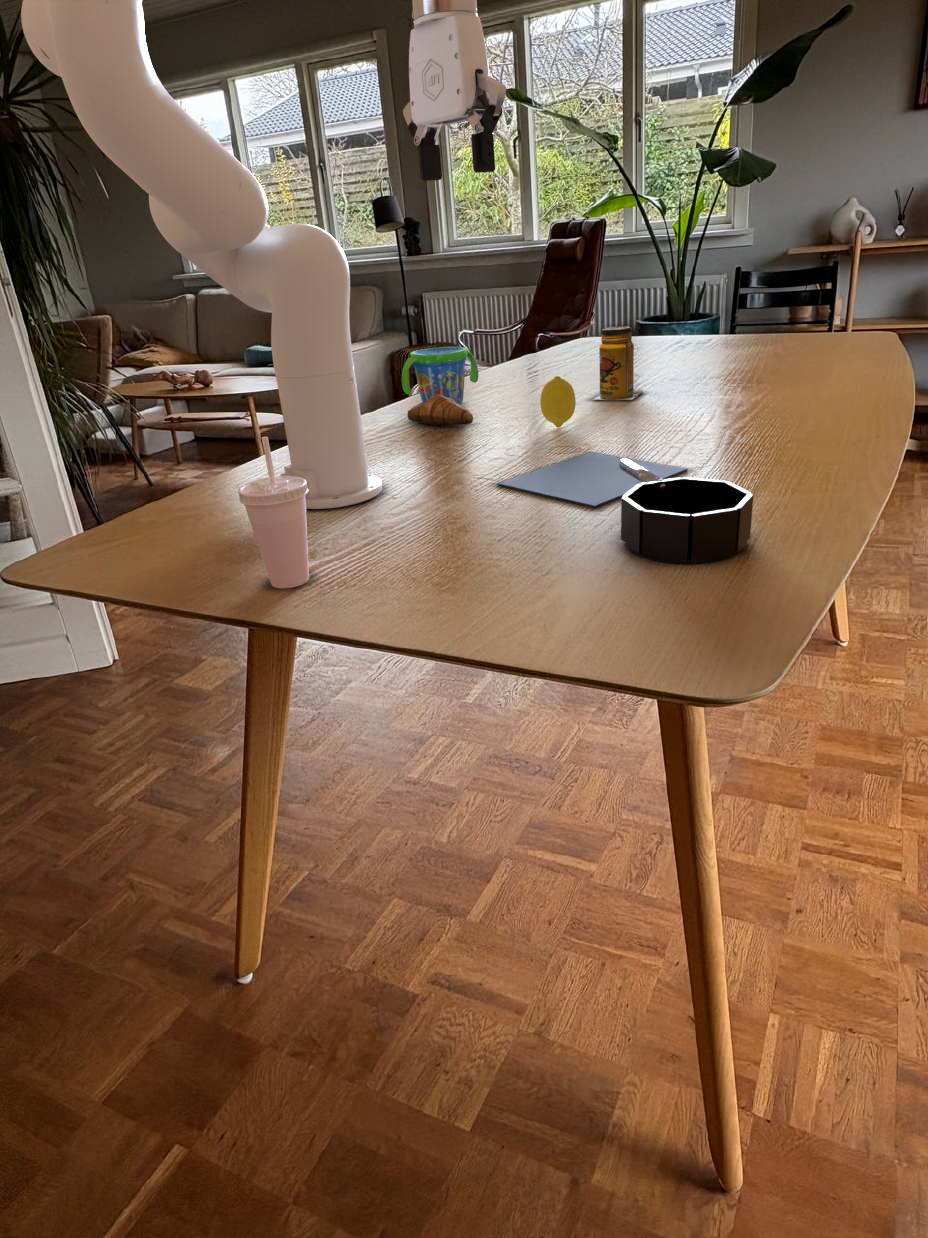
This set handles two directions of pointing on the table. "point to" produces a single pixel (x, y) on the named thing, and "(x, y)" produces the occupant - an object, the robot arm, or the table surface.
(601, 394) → the condiment
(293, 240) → the robot arm
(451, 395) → the snack cup
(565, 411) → the lemon
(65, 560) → the table surface
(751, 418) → the table surface
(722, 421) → the table surface
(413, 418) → the croissant
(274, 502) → the smoothie
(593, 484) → the mat
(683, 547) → the black octagonal pot
